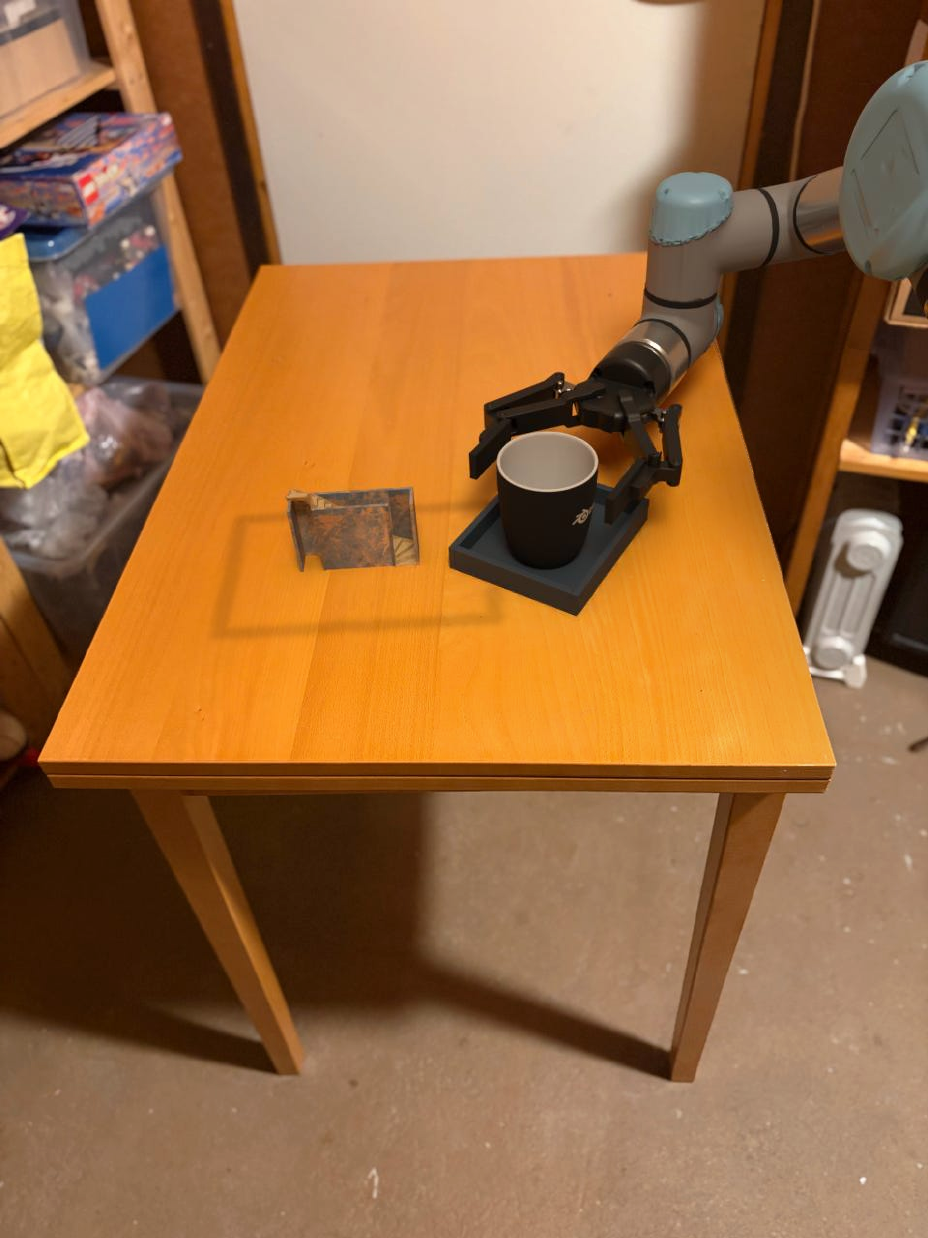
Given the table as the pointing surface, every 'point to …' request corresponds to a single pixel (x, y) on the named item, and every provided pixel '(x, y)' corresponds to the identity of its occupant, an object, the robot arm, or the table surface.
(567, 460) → the mug
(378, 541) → the architectural model on board
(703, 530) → the table surface
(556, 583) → the tray
